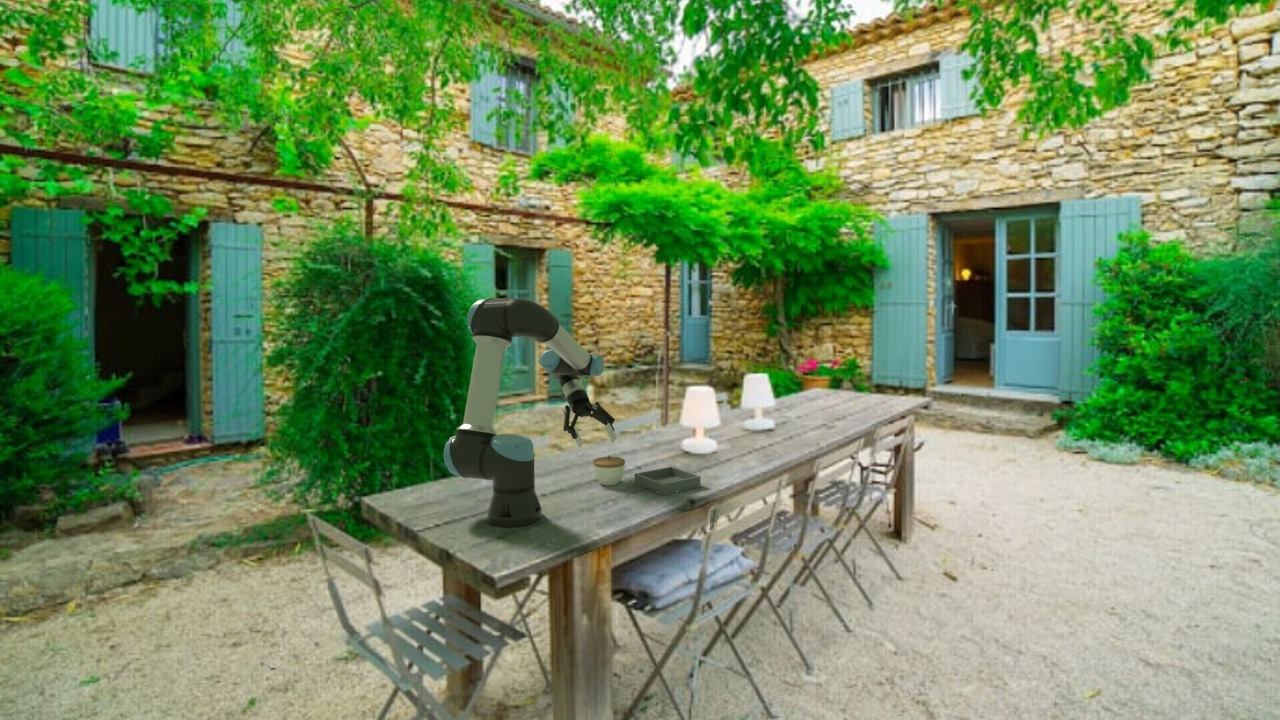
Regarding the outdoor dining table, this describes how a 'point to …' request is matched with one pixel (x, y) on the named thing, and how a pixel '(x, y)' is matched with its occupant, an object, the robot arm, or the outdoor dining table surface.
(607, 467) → the lidded jar
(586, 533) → the outdoor dining table surface
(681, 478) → the bin
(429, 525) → the outdoor dining table surface
